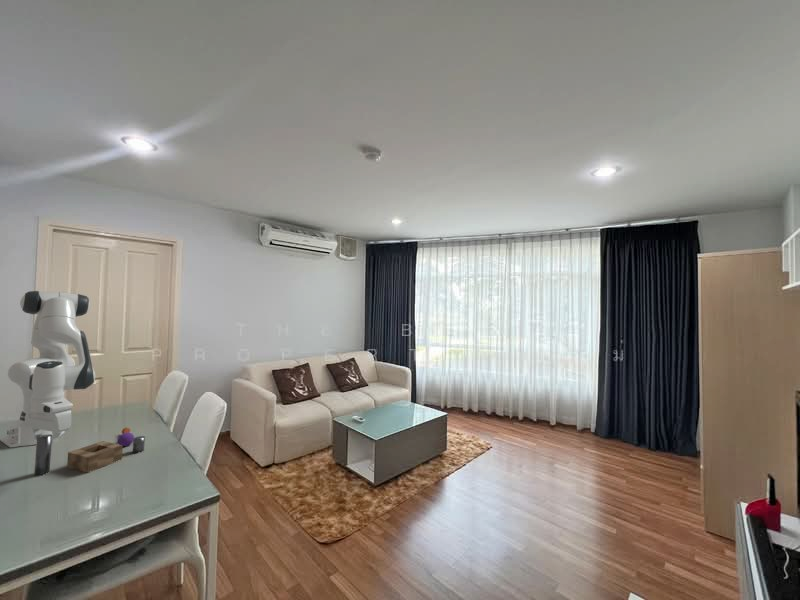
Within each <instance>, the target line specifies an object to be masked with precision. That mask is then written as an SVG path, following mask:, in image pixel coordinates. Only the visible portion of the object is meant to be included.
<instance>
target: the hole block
mask: <svg viewBox="0 0 800 600" xmlns="http://www.w3.org/2000/svg"><path fill="white" fill-rule="evenodd" d="M123 448H124V447H123V445H119V444H118V443H114V442H109V441H104V440H102V441H99V442H96V443H92V444H90V445H87V446H83V447H80V448H77V449H74V450H72V451H68V452H67V464H66V468H67V469H71V470H74V469H76V470H75V471H78V470H80V471H79V472H82V471H83V473H86V472H89V473H91V472H90V471H92V472H93V470H94V471H96V470H95V469H97V470H99V469H102V468H104V467H107V466H109V465H108V464H110V465H112V464H115V463H117V462H119V461H118V460H120V461H122V460H121V459H123ZM116 461H117V462H116ZM114 462H115V463H114ZM111 463H112V464H111ZM106 465H107V466H106ZM103 466H104V467H103ZM101 467H102V468H101ZM98 468H99V469H98Z"/></svg>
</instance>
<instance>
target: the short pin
mask: <svg viewBox="0 0 800 600" xmlns="http://www.w3.org/2000/svg"><path fill="white" fill-rule="evenodd" d="M145 438H146V437H145V436H143V435H141V436H134V439H133V442H132V453H133V454H139V453H138V452H140V453H143V452H144V451H145V440H146V439H145ZM142 451H143V452H142Z"/></svg>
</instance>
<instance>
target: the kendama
mask: <svg viewBox="0 0 800 600" xmlns="http://www.w3.org/2000/svg"><path fill="white" fill-rule="evenodd" d="M134 438H135V436H134V434H133V433H132V432H131V429H130V427H124V428H123V429H122V430H121V434H120V435H119V436H118V438H117V441H116V442H117V443H116V444H119V445H123V448H124V446H125V447H128V446H130V445H131V444H133V439H134Z"/></svg>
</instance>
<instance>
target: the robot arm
mask: <svg viewBox="0 0 800 600" xmlns="http://www.w3.org/2000/svg"><path fill="white" fill-rule="evenodd" d="M19 301H20V302H19V304H20V307H21V308H20V309H21V311H23V312H24V313H26V314H30V315H36V317H35V321H34V324H33V325H34V326H33V328H32V329H33V331H32V337H31V342H30V343H31V345H32V347H34V348H36V349H37V350H38V351H39V352H38V353H39V357H35V358H34V357H33V358H27V359H24V360H22V361H18V362H16V363H14V364H12V365H11V366H10V367H9V369H8V371H7V377H8V379H9V380H10V381H11V382H12V383H14V384H16V385H17V386H19V388H20V389H21V391H22V394H23V408H22V410H23V411H21V412H20V417H19V420H18V421H17V422H15V423H13V424H12V425H11V426H10V427H9V429H7V430H6V436H4V437H1V438H0V442H1V443H3V444H4V445H6V446H7V447H8V448H17V447H25V446H32V445H33V446H34V445H35V446H36V444H37V437H39V436H42V435H48V434H51V435H52V438H50V440H51V441H50V442H52V444H55V443H58V442H59V441H60V437H61V436H62V435H64V434H65V431H68V430H69V429H70V428H71V425H72V410H71V409H73V406H74V405H73V403H72V402H70V401H69V400H68V399H67V398H65V395H66V393H65V391H70V390H74V391H75V390H86V389H88V388H89V387H91V386H92V385H93V384H94V383H95V381H96V371H95V369H94V368H95V367H93V365H92V364H93V363H92V358H91V353H90V349H89V343H88V339H87V336H86V334H85V332H84V331H83V330H80V329H79V328H78V326H77V324H76V322H77V321H76V319H77V317H80V316H81V317H82V316H85V315H86V314H87V313H88V312H89V310H90V308H91V302H90V299H89V297H88V296H86V295H84V294H79V293H78V294H75V293H69V292H64V291H63V292H62V291H58V292H57V291H39V290H32V291H31V290H30V291H27V292H26V293H24V295H23V296H22V297H21V299H20V300H19ZM67 346H69V347H72V348H74V350H75V351H76V356H77V360H78V361H77V362H78V364H77V365H76V361H75V359H74V358H73V357H72V356H71V355H69V353H68V351H67Z"/></svg>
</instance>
